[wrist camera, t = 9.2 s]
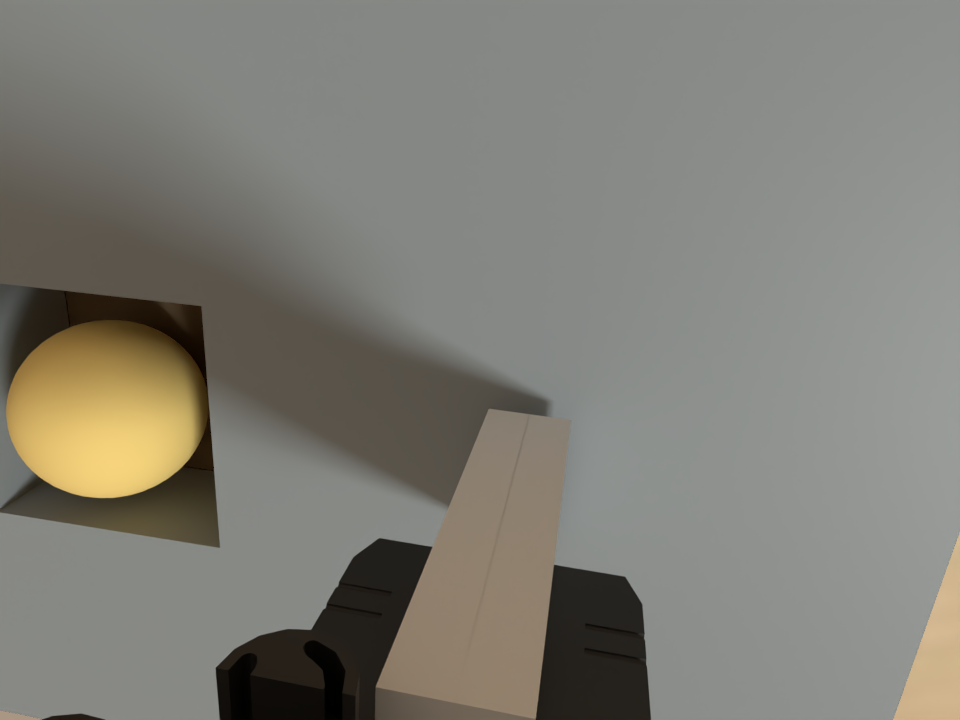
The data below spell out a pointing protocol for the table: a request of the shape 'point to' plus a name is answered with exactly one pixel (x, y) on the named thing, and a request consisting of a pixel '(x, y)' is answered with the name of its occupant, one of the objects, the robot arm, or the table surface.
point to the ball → (107, 408)
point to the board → (498, 321)
